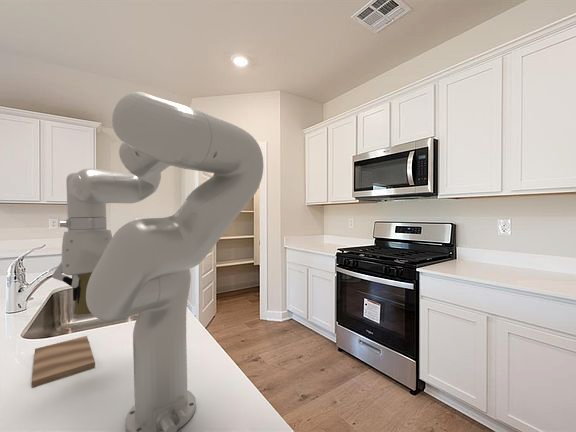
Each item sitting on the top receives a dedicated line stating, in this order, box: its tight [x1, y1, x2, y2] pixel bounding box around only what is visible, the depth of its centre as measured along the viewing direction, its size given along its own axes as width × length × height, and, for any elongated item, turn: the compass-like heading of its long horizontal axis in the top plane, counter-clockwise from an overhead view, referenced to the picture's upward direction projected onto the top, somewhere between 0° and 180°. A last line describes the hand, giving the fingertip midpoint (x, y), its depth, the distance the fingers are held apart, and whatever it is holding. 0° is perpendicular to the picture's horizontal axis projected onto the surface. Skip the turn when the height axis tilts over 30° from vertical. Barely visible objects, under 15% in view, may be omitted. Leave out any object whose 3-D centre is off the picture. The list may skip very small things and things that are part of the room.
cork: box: [73, 273, 92, 315], centre depth 66 cm, size 6×6×11 cm
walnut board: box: [31, 335, 96, 389], centre depth 75 cm, size 20×12×2 cm, turn 41°
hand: (90, 300), depth 67 cm, fingers closed on cork, 3 cm apart
